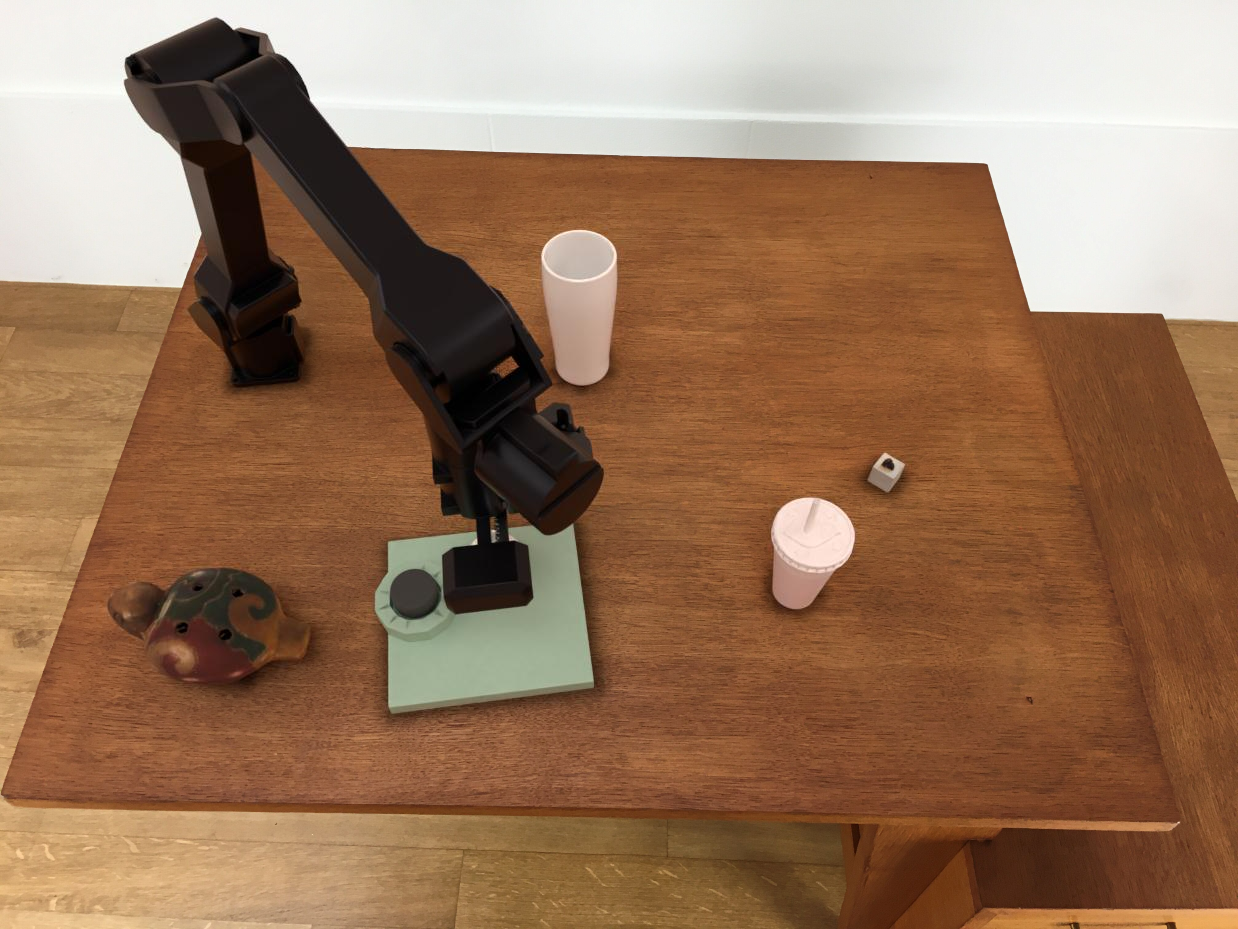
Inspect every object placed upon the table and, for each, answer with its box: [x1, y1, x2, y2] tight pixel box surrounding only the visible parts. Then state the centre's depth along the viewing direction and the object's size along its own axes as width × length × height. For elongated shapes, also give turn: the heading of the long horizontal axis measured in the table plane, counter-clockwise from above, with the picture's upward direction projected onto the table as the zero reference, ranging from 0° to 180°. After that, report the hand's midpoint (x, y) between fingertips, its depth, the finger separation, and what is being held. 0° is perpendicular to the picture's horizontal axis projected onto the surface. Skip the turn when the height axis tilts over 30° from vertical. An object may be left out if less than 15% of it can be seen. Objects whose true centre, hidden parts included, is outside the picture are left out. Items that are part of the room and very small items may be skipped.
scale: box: [374, 523, 595, 715], centre depth 79 cm, size 17×15×3 cm
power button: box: [390, 569, 438, 618], centre depth 78 cm, size 4×4×2 cm
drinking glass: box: [540, 229, 619, 387], centre depth 90 cm, size 7×7×15 cm
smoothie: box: [770, 497, 856, 610], centre depth 77 cm, size 6×6×14 cm
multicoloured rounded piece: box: [106, 567, 312, 685], centre depth 76 cm, size 10×15×8 cm, turn 88°
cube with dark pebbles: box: [867, 452, 906, 493], centre depth 88 cm, size 2×2×2 cm
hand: (492, 548), depth 80 cm, fingers open, 9 cm apart
